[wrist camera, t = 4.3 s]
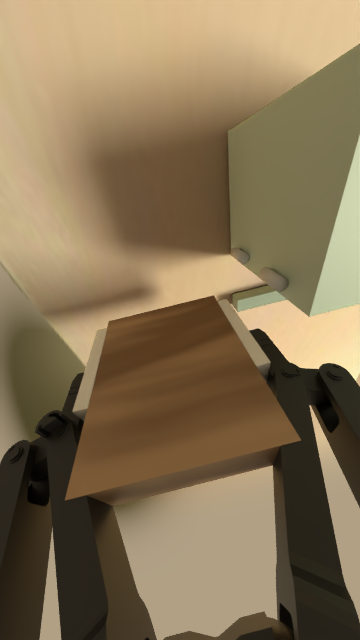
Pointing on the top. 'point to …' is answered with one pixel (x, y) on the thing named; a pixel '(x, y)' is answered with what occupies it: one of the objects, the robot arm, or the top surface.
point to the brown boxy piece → (174, 407)
